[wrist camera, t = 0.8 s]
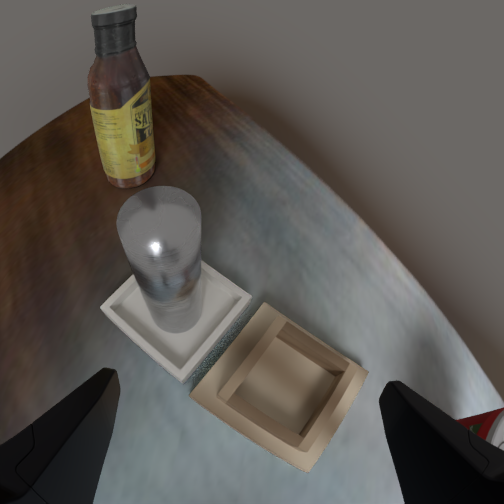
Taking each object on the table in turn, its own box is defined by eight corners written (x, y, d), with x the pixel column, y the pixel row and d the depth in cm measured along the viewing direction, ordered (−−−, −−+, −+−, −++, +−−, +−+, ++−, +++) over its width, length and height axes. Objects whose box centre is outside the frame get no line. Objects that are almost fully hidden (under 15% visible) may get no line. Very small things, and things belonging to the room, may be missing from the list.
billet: (178, 344, 23) (158, 271, 13) (139, 310, 24) (100, 221, 14) (212, 305, 26) (219, 213, 16) (173, 275, 27) (159, 174, 17)
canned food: (400, 428, 22) (489, 410, 13) (458, 420, 22) (541, 395, 13) (392, 503, 17) (479, 517, 8) (454, 487, 18) (537, 482, 9)
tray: (183, 384, 22) (181, 381, 21) (105, 315, 24) (99, 307, 23) (249, 304, 27) (252, 296, 25) (172, 248, 29) (171, 237, 27)
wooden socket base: (303, 471, 19) (317, 476, 17) (189, 396, 22) (186, 392, 19) (362, 374, 24) (380, 366, 22) (261, 307, 27) (268, 291, 24)
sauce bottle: (155, 189, 32) (143, 11, 16) (102, 194, 31) (66, 24, 15) (158, 152, 36) (153, -2, 19) (110, 157, 35) (89, 8, 18)
